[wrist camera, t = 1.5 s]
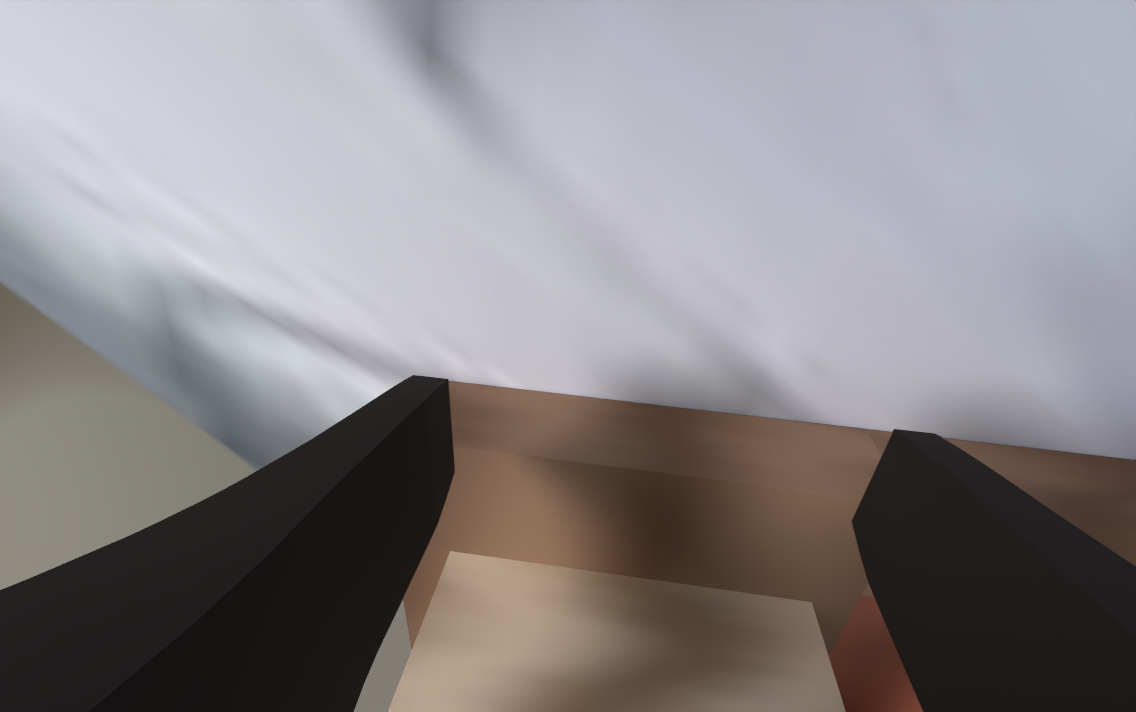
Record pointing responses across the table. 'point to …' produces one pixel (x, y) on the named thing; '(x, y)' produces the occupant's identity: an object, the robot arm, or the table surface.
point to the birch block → (609, 645)
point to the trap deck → (716, 508)
